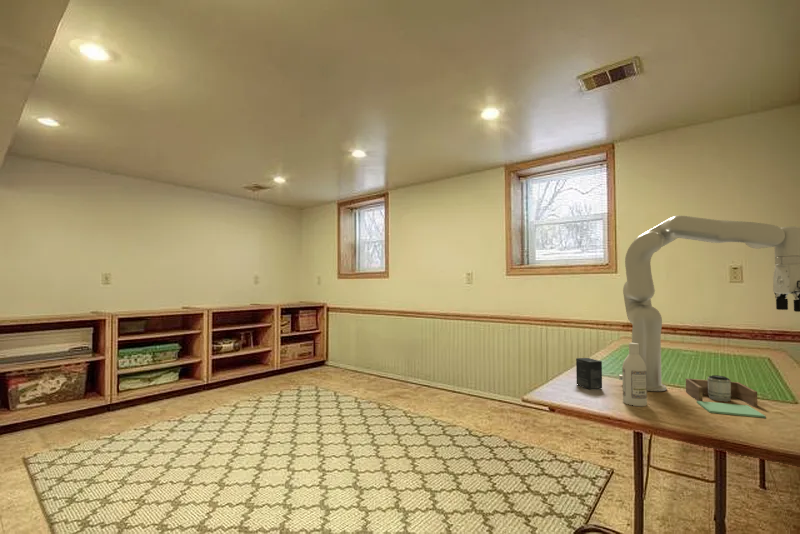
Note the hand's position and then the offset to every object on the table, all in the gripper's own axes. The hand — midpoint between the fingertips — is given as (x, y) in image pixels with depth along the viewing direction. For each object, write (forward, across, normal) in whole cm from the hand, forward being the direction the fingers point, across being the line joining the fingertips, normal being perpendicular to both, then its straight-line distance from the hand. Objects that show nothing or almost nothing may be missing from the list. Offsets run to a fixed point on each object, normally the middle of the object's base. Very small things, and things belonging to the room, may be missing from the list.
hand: (790, 310), depth 140 cm
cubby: (+31, +8, -25) cm, 40 cm away
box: (+31, +4, -66) cm, 73 cm away
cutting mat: (+31, +20, -27) cm, 46 cm away
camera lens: (+31, +8, -25) cm, 40 cm away
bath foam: (+31, +22, -54) cm, 67 cm away
